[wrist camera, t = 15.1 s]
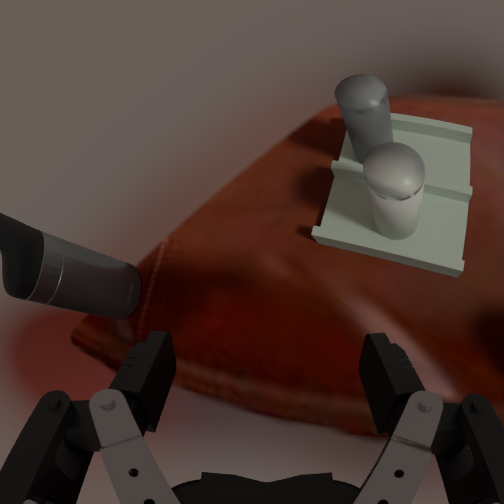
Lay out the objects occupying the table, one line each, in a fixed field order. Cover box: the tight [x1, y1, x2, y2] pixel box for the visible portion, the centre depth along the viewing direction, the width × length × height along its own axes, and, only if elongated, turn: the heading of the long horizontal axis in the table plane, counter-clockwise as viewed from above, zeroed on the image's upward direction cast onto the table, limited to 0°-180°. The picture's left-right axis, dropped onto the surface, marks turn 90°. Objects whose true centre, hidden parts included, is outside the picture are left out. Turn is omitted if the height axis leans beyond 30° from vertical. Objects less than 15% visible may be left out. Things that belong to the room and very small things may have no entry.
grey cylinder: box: [335, 74, 394, 164], centre depth 28 cm, size 5×5×10 cm
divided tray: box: [311, 113, 472, 278], centre depth 29 cm, size 16×17×3 cm
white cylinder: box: [363, 142, 425, 240], centre depth 25 cm, size 5×5×10 cm
